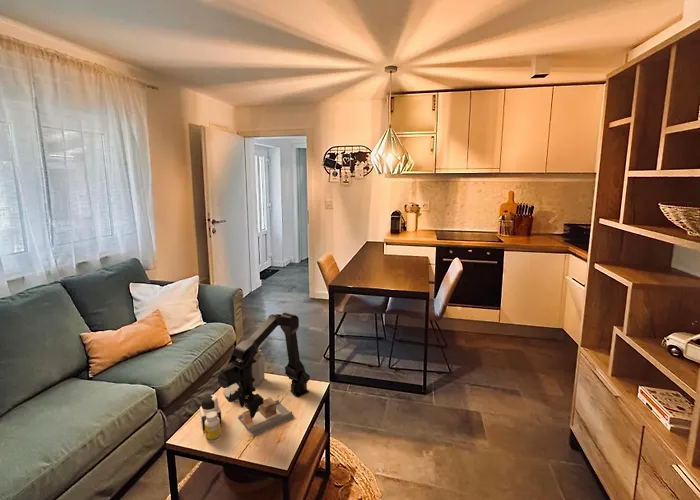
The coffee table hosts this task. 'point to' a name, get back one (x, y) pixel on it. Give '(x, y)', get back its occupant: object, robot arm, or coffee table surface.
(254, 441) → the coffee table surface
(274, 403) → the walnut block
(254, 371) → the perfume bottle
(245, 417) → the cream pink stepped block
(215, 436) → the supplement bottle
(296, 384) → the robot arm
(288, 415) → the lane board
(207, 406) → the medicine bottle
